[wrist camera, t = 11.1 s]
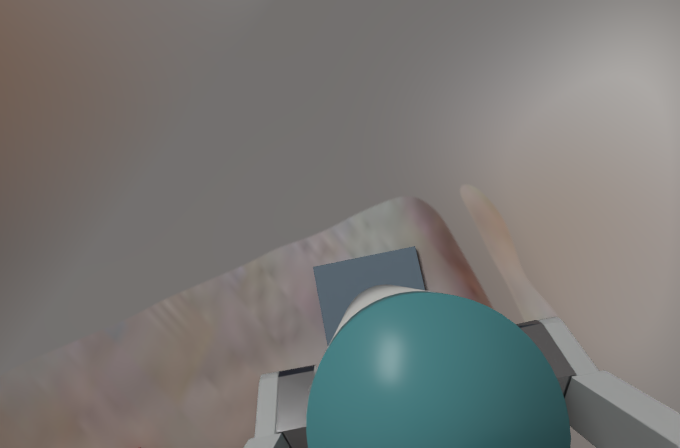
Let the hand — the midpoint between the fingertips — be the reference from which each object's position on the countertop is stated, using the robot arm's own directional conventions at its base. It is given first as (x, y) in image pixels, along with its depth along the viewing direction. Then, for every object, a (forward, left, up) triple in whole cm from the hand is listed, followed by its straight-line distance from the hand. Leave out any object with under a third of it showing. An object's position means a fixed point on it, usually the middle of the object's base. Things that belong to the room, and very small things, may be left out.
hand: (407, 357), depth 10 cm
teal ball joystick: (0, -1, -11) cm, 11 cm away
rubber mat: (0, -1, -26) cm, 26 cm away
